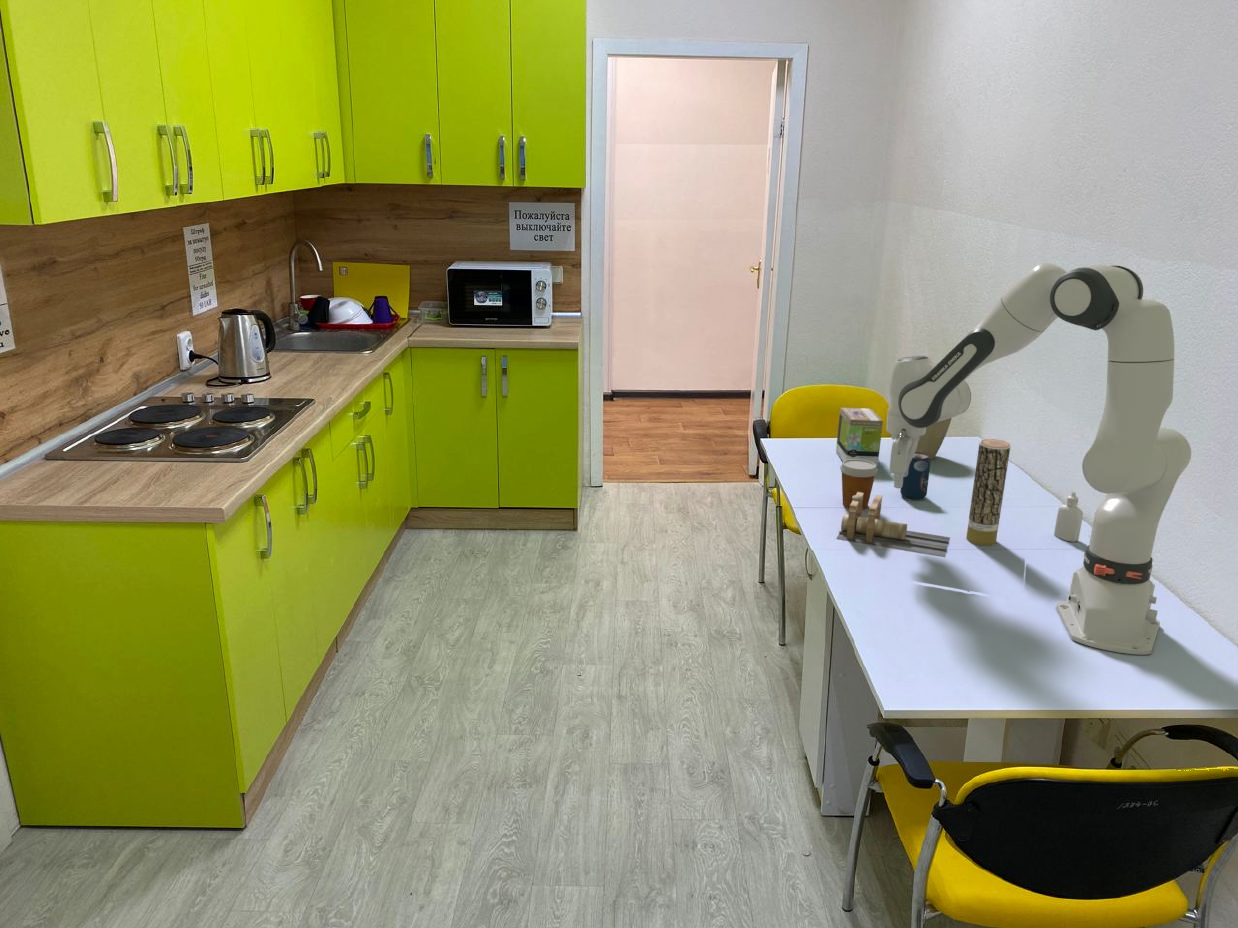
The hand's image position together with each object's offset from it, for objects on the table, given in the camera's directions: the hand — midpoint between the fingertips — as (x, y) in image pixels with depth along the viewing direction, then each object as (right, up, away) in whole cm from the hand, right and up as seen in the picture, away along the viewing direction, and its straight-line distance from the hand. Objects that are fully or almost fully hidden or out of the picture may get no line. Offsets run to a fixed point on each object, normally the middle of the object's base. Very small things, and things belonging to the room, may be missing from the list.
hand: (900, 481), depth 226 cm
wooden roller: (-5, -13, +7) cm, 15 cm away
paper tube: (+21, -15, +5) cm, 26 cm away
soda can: (+14, -5, +35) cm, 38 cm away
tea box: (+6, +5, +66) cm, 66 cm away
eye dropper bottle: (+43, -14, +8) cm, 46 cm away
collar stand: (0, -14, +5) cm, 15 cm away
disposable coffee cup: (-4, -7, +26) cm, 28 cm away
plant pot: (+28, +6, +70) cm, 76 cm away
